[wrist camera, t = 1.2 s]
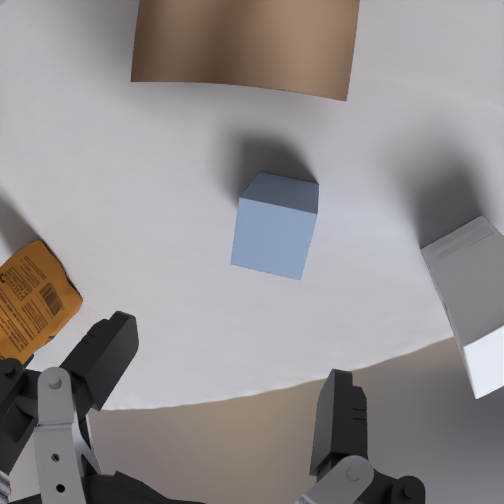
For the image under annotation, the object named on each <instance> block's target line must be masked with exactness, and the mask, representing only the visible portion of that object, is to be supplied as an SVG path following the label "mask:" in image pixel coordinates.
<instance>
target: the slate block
mask: <svg viewBox="0 0 504 504" xmlns="http://www.w3.org/2000/svg"><path fill="white" fill-rule="evenodd" d="M318 194H319V184H316V183H312V182H307V181H303V180H298V179H294V178H289V177H284V176H279V175H274V174H269V173H264V172H259V173H258V174H257V176H256V177H255V178H254V179H253V181H252V182H251V183H250V184H249V186H248V187H247V188H246V189H245V191H244V192H243V193H242V195H241V196H240V197H239V203H238V210H237V218H236V225H235V233H234V241H233V249H232V257H231V264H232V265H236V266H240V267H244V268H249V269H253V270H257V271H261V272H266V273H270V274H274V275H279V276H283V277H287V278H291V279H296V280H301V277H302V273H303V269H304V265H305V262H306V258H307V254H308V250H309V246H310V242H311V238H312V234H313V230H314V226H315V222H316V218H317V212H318Z"/></svg>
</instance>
